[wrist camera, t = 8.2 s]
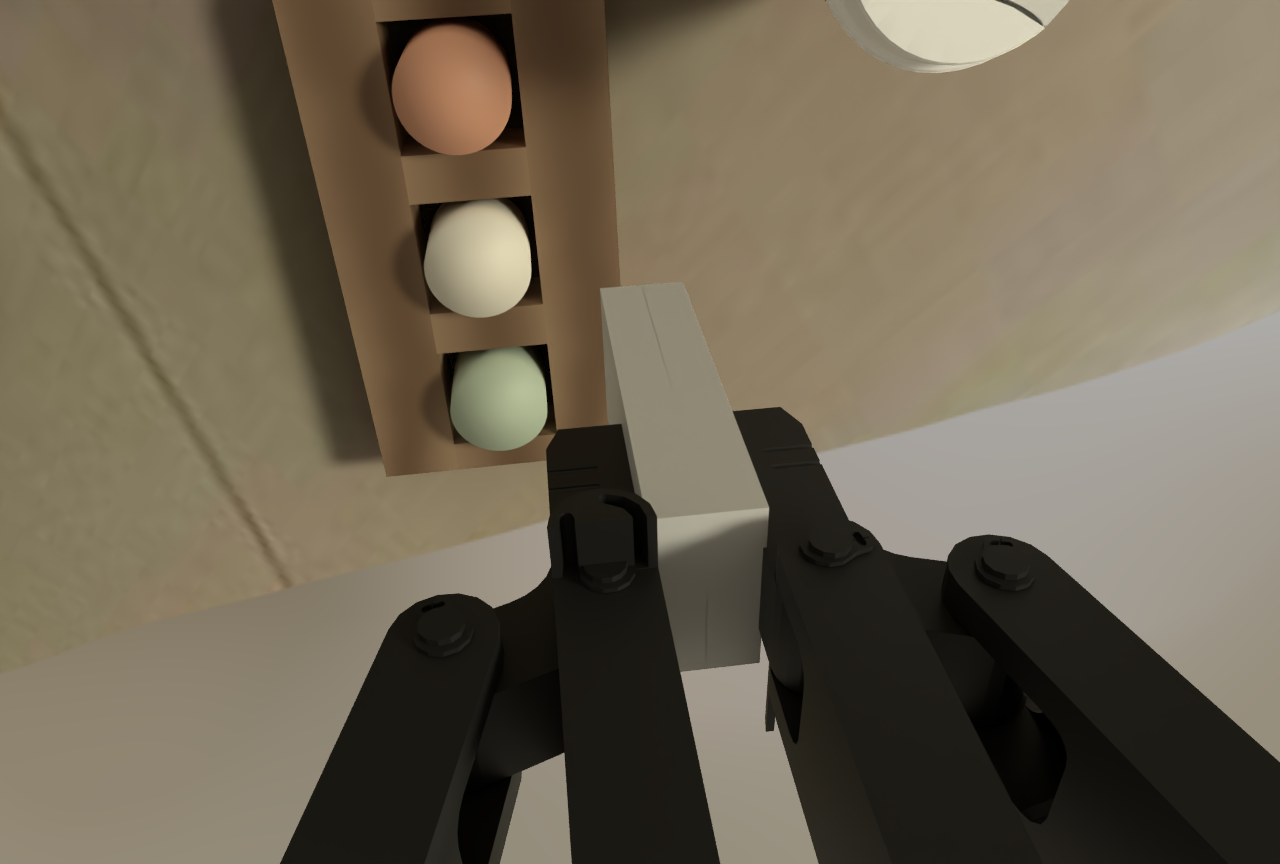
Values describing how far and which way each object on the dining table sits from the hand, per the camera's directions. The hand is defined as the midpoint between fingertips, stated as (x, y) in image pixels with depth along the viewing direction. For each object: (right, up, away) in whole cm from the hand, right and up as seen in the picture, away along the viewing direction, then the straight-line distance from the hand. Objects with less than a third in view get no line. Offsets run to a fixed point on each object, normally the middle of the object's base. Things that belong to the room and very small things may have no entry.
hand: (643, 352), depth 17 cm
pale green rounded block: (-7, +1, +28) cm, 29 cm away
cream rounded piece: (-7, +7, +24) cm, 26 cm away
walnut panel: (-7, +8, +25) cm, 27 cm away
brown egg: (-8, +13, +20) cm, 25 cm away
